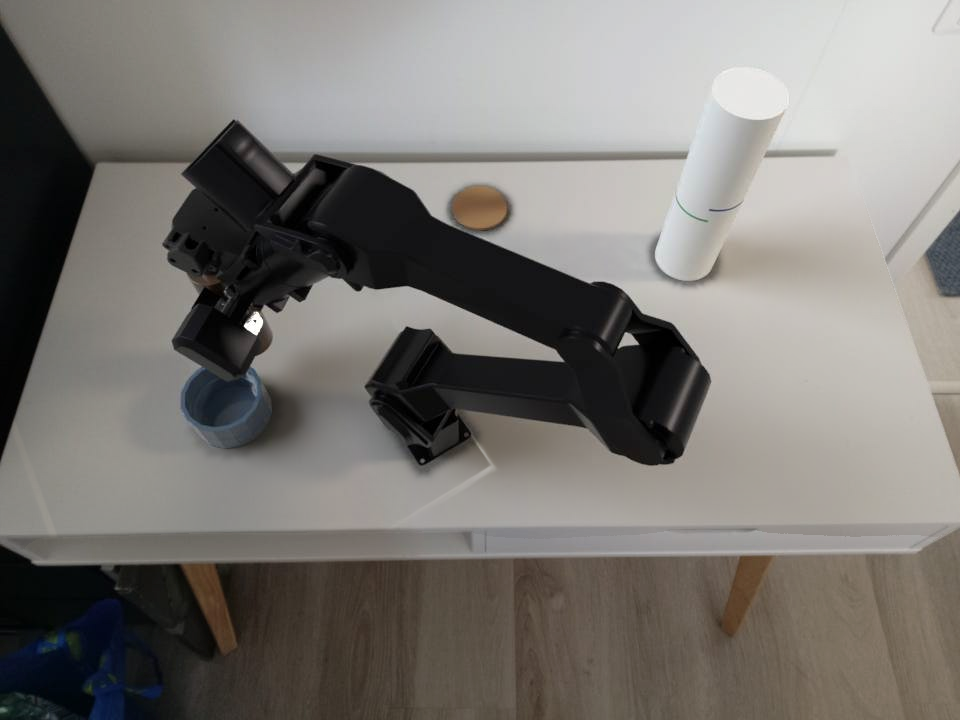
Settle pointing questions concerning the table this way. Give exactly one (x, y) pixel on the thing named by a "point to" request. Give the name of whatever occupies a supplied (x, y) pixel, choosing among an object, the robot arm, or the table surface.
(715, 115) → the cylindrical container
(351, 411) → the table surface
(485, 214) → the coaster
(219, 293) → the pepper mill
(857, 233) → the table surface
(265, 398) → the bowl
